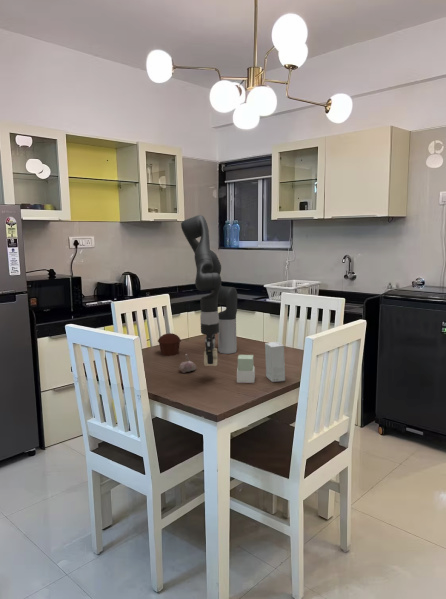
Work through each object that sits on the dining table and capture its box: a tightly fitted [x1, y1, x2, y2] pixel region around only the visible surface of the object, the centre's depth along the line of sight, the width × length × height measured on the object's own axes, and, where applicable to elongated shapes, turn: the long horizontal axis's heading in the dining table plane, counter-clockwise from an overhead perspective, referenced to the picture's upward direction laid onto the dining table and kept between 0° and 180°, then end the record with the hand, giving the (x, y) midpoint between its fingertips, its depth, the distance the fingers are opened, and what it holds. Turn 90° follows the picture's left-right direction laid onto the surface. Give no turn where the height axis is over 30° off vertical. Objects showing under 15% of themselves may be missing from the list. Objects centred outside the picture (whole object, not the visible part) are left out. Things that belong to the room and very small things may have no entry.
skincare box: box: [264, 341, 286, 383], centre depth 186 cm, size 8×6×15 cm
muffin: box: [157, 332, 182, 357], centre depth 229 cm, size 12×11×10 cm
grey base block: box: [236, 365, 256, 384], centre depth 186 cm, size 7×7×5 cm
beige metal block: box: [203, 347, 219, 367], centre depth 187 cm, size 5×5×6 cm
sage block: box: [237, 354, 254, 371], centre depth 185 cm, size 6×6×5 cm
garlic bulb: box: [178, 353, 197, 374], centre depth 199 cm, size 8×7×8 cm
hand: (211, 361), depth 188 cm, fingers closed on beige metal block, 5 cm apart
